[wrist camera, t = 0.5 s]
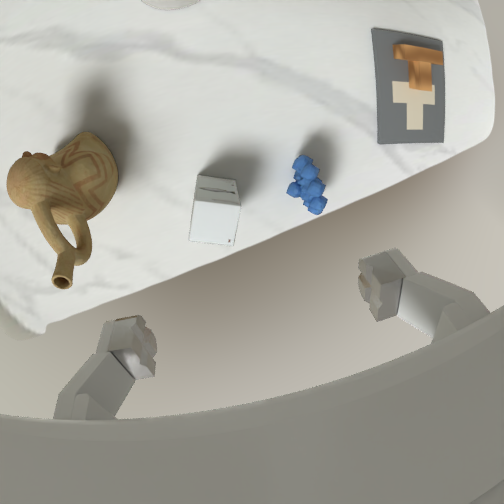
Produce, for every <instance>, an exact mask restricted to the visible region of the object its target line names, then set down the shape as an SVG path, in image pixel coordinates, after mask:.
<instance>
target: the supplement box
mask: <svg viewBox="0 0 504 504" xmlns="http://www.w3.org/2000/svg"><path fill="white" fill-rule="evenodd" d="M240 211H241V203H240V199H239V194H238V190H237V185H236V181H235V180H232V179H223V178H215V177H209V176H202V175H197V180H196V187H195V193H194V201H193V208H192V216H191V224H190V232H189V239H188V240H189V241H191V242H200V243H209V244H218V245H227V246H234V241H235V236H236V231H237V226H238V220H239V215H240Z"/></svg>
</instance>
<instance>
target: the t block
mask: <svg viewBox="0 0 504 504" xmlns="http://www.w3.org/2000/svg"><path fill="white" fill-rule="evenodd" d="M393 55H394V59H400V60H408V72H409V88H411V89H417V90H422V91H432V74H431V64H436V65H443V54H442V51H437V50H433V49H428V48H423V47H417V46H412V45H405V44H398V45H393Z"/></svg>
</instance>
